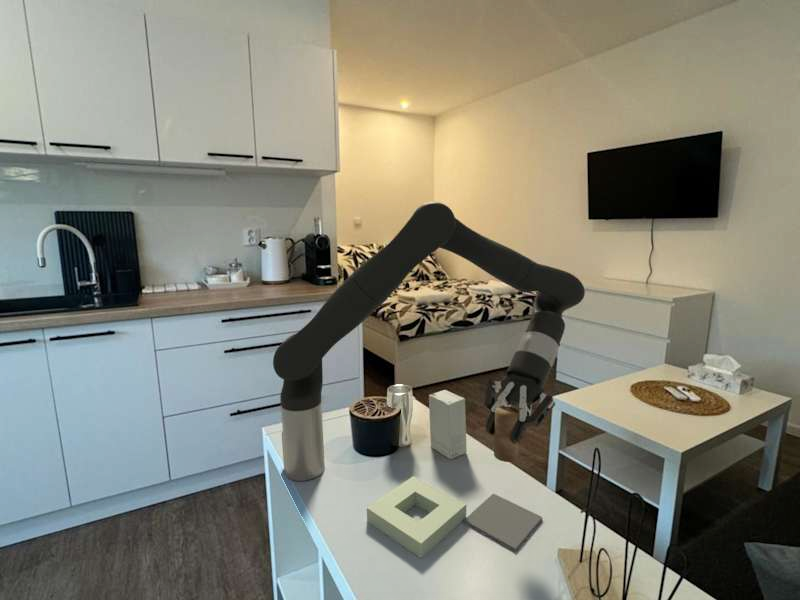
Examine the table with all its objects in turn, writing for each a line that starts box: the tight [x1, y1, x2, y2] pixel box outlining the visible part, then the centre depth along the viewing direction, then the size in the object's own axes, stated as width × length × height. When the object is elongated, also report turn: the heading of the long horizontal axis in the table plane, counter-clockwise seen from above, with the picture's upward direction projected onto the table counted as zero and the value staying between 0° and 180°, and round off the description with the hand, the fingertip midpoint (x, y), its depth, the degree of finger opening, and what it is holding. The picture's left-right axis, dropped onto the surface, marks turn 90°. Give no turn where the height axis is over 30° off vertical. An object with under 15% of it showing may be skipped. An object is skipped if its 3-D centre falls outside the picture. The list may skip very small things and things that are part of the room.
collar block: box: [366, 475, 467, 559], centre depth 83 cm, size 14×14×3 cm
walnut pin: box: [493, 406, 520, 463], centre depth 79 cm, size 4×4×9 cm
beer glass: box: [386, 384, 414, 448], centre depth 112 cm, size 7×7×15 cm
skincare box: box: [428, 389, 467, 460], centre depth 108 cm, size 8×6×15 cm
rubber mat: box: [463, 493, 543, 552], centre depth 83 cm, size 11×11×1 cm
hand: (501, 437), depth 78 cm, fingers closed on walnut pin, 4 cm apart
